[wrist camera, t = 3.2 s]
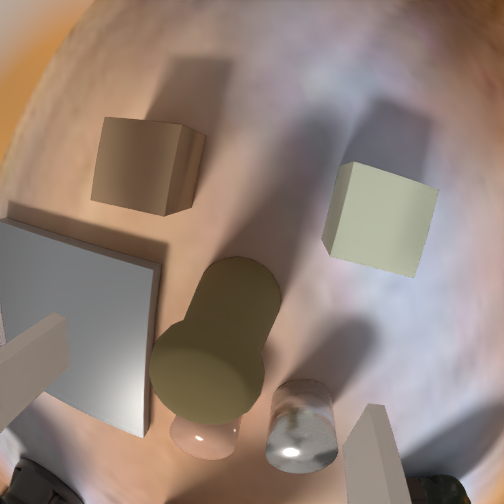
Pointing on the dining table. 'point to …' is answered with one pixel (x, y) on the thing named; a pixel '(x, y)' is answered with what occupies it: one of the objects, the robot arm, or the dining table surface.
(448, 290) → the dining table surface
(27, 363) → the robot arm
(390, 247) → the sage block
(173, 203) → the walnut block
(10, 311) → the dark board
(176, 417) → the peach rounded capsule
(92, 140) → the dining table surface
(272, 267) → the dining table surface
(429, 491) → the squash
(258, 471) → the dining table surface
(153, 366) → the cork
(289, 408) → the metal tin
